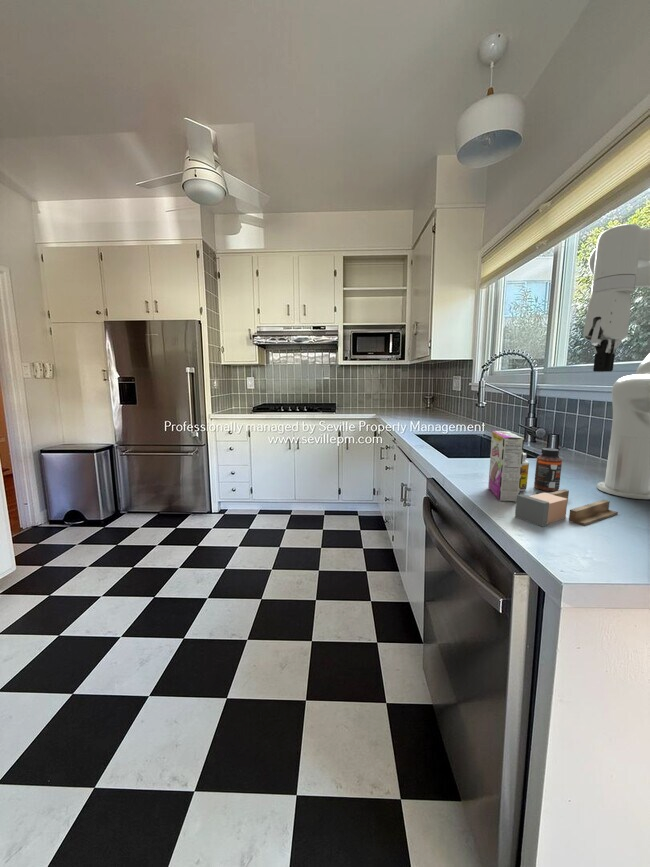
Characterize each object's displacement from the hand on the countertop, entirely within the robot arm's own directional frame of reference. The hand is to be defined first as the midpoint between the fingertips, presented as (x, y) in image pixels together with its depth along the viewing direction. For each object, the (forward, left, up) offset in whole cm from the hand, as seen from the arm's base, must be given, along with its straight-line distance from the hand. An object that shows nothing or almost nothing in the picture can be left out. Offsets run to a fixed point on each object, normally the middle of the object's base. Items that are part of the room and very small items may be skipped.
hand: (602, 371), depth 80 cm
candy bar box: (+12, -14, -32) cm, 37 cm away
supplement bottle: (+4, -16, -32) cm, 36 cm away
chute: (+8, 0, -32) cm, 33 cm away
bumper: (+22, 0, -32) cm, 39 cm away
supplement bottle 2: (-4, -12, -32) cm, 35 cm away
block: (+18, 0, -32) cm, 37 cm away
